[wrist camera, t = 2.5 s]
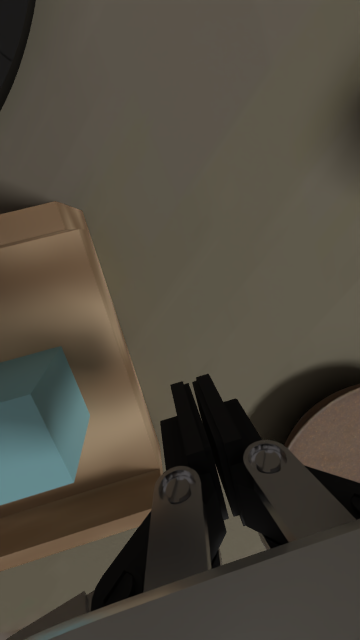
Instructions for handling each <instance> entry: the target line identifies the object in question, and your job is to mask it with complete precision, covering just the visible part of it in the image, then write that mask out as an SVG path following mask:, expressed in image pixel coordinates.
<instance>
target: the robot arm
mask: <svg viewBox="0 0 360 640" xmlns="http://www.w3.org/2000/svg"><path fill="white" fill-rule="evenodd" d="M196 380H197V381H194V382H192V383H193V387H194V391H195V395H196V399H197V403H198V407H199V411H200V415H201V418H200V415H199V412H198V409H197V406H196V403H195V400H194V398H193V395H192V392H191V389H190V386H189V383H187V384H183V381H182V382H179V383H175V384H172V385H171V390H172V394H173V399H174V403H175V408H176V412H177V416H176V417H172V418H169V419H166V420H162V421H160V425H161V433H162V441H163V449H164V457H165V465H166V471H165V472H164V473H163V474H162V475H161V476H160V477H159V478H158V480H157V481H156V483H155V486H154V490H153V500H152V510H151V511H150V513H149V514H148V515H147V517H146V518H145V519H144V521H143V522H142V523H141V525H140V526H139V528H138V529H137V530H136V532H135V533H134V534H133V536H132V537H131V538H130V540H129V541H128V542H127V544H126V545H125V546H124V548H123V549H122V550H121V552H120V553H119V554H118V556H117V557H116V559H115V560H114V561H113V563H112V564H111V565H110V567H109V568H108V569H107V571H106V572H105V573H104V575H103V576H102V578H101V579H100V581H99V583H98V584H97V586H96V588H95V590H94V591H92V592H91V593H89V594H87V595H86V593H85V591H84V592H82V593H80V594H79V595H77V596H75V597H74V598H72V599H70V600H69V601H67V602H66V603H64V604H62V605H61V606H59V607H57V608H56V609H54V610H53V611H51V612H49V613H48V614H46V615H44V616H43V617H41V618H39V619H38V620H36V621H35V622H33V623H31V624H30V625H28V626H26V627H25V628H23V629H21V630H20V631H18V632H17V633H15V634H13V635H12V636H10V637H9V638H8V639H6V640H360V483H358V482H355V481H352V480H349V479H346V478H342V477H339V476H336V475H333V474H330V473H327V472H324V471H321V470H317V469H314V468H311V467H308V466H305V465H303V464H302V463H301V462H300V461H299V460H298V459H297V458H296V457H295V456H294V455H293V453H292V452H291V451H290V450H289V449H288V448H287V447H285V446H284V445H283V444H281V443H279V442H276V441H272V440H262V439H261V437H260V436H259V434H258V432H257V431H256V429H255V428H254V426H253V424H252V423H251V421H250V419H249V418H248V416H247V415H246V413H245V411H244V410H243V408H242V406H241V405H240V403H239V402H238V400H237V399H232V400H229V401H226V402H223V401H222V399H221V397H220V395H219V393H218V391H217V389H216V387H215V385H214V383H213V381H212V379H211V377H210V376H209V374H206V375H203V376H199V377H196ZM201 419H202V420H201ZM215 464H216V465H215ZM216 467H217V469H216ZM217 470H218V473H219V476H220V479H221V482H222V485H223V488H224V490H225V493H226V496H227V499H228V502H229V505H230V508H231V511H232V514H233V516H234V517H235V516H238V515H240V518H241V521H242V524H243V526H245V525H246V526H247V527H249V528H251V529H253V530H255V531H257V532H258V533H259V536H260V539H261V541H262V543H263V545H264V546H265V548H266V551H263V552H260V553H257V554H254V555H251V556H248V557H245V558H242V559H239V560H236V561H234V562H231V563H228V564H225V565H222V558H221V552H220V549H219V547H220V545H221V543H222V541H223V539H224V536H225V534H226V528H225V524H224V520H225V519H229V517H228V513H227V509H226V505H225V501H224V497H223V493H222V489H221V485H220V481H219V477H218V473H217Z"/></svg>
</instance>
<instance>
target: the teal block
mask: <svg viewBox="0 0 360 640" xmlns="http://www.w3.org/2000/svg"><path fill="white" fill-rule="evenodd" d="M89 418H90V414H89V411H88V409H87V407H86V404H85V402H84V399H83V397H82V395H81V392H80V390H79V387H78V385H77V383H76V380H75V378H74V375H73V373H72V371H71V368H70V366H69V364H68V361H67V359H66V356H65V354H64V352H63V349H62V347H61V346H59V347H55V348H52V349H48V350H44V351H41V352H37V353H33V354H30V355H26V356H22V357H19V358H15V359H11V360H8V361H4V362H0V505H3V504H7V503H10V502H13V501H16V500H20V499H23V498H26V497H29V496H33V495H36V494H39V493H42V492H46V491H49V490H52V489H55V488H58V487H62V486H65V485H68V484H71V483H74V481H75V477H76V473H77V468H78V464H79V460H80V456H81V452H82V448H83V443H84V439H85V435H86V431H87V427H88V423H89Z"/></svg>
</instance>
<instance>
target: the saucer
mask: <svg viewBox="0 0 360 640" xmlns="http://www.w3.org/2000/svg"><path fill="white" fill-rule="evenodd" d="M284 446H285V447H287V448H288V449H289V450H290V451H291V452H292V453H293V455H294V456H295V457H296V458H297V459H298V460H299V461H300V462H301V463H302V464H303V465H305V466H308V467H311V468H314V469H317V470H321V471H324V472H327V473H330V474H333V475H336V476H339V477H342V478H346V479H349V480H352V481H355V482H358V483H360V384H357V385H353V386H350V387H347V388H344V389H342V390H340V391H337V392H335V393H333V394H331V395H329V396H327V397H326V398H324V399H322V400H321V401H320V402H318V403H317V404H315V405H314V406H313V407H312V408H311V409H309V410H308V411H307V412H306V413H305V414H304V415H303V416H302V418H301V419H300V420H299V421H298V422H297V424H296V425H295V427H294V428H293V430H292V431H291V433H290V434H289V436H288V438H287V440H286V443H285V445H284Z"/></svg>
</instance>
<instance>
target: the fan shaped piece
mask: <svg viewBox="0 0 360 640" xmlns="http://www.w3.org/2000/svg"><path fill="white" fill-rule="evenodd" d="M35 2H36V0H0V111H1V109H2V107H3V105H4V103H5V100H6V98H7V96H8V94H9V92H10V90H11V87H12V85H13V83H14V80H15V77H16V75H17V72H18V69H19V66H20V63H21V60H22V57H23V54H24V50H25V47H26V43H27V39H28V36H29V32H30V27H31V23H32V18H33V14H34V7H35Z"/></svg>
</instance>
